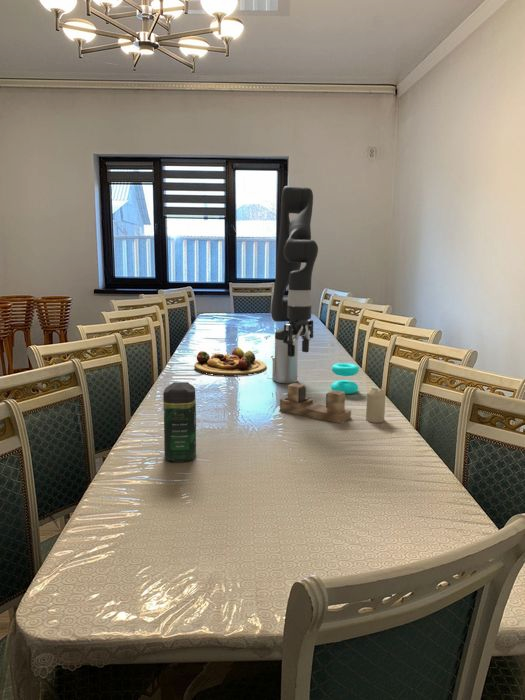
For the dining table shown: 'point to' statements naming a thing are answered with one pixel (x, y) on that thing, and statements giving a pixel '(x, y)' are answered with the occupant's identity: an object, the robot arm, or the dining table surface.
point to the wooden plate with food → (229, 363)
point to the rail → (320, 407)
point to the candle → (375, 405)
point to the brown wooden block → (296, 392)
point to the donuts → (345, 370)
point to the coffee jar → (179, 421)
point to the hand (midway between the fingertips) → (298, 354)
